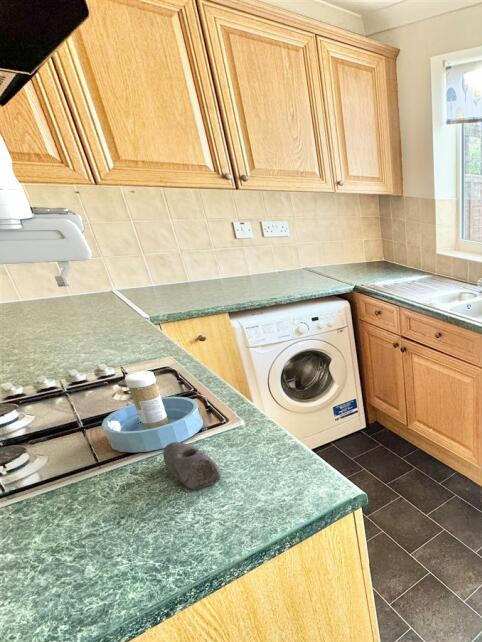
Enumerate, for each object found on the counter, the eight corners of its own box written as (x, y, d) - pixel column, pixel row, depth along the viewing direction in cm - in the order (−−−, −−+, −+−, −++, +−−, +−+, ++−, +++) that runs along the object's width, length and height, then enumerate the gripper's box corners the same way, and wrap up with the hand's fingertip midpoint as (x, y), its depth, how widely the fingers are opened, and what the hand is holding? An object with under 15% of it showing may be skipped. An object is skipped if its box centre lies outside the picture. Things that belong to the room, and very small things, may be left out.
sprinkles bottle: (145, 429, 90) (124, 373, 84) (171, 424, 93) (153, 368, 87) (144, 439, 87) (123, 381, 81) (172, 433, 89) (153, 376, 84)
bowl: (93, 460, 81) (83, 436, 79) (136, 420, 95) (128, 399, 93) (186, 452, 85) (179, 429, 83) (214, 415, 99) (208, 394, 97)
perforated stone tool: (158, 469, 80) (147, 438, 77) (190, 457, 84) (180, 427, 81) (194, 502, 73) (183, 469, 70) (226, 486, 77) (217, 455, 74)
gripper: (77, 206, 79) (102, 280, 85) (-104, 203, 66) (-59, 291, 72) (78, 209, 75) (105, 286, 81) (-114, 206, 62) (-65, 299, 68)
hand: (27, 288), depth 76 cm, fingers open, 8 cm apart
